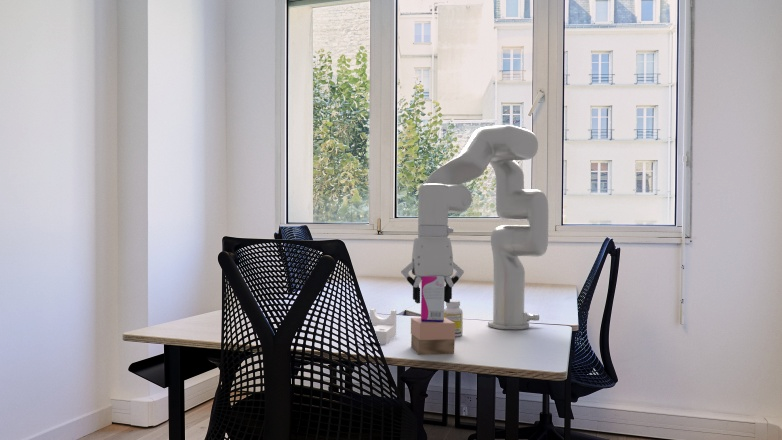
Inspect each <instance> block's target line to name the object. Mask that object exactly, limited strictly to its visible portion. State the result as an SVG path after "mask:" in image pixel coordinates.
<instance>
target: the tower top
mask: <svg viewBox="0 0 782 440" xmlns="http://www.w3.org/2000/svg"><path fill="white" fill-rule="evenodd" d="M411 334H412V335H414V336H415V337H416V338H418V339H419V340H443V339H455V340H456V336H455V323H454V322H452V321H450V320H448V319H447V318H445V317H444V322H421V317H411V318H410V335H411Z"/></svg>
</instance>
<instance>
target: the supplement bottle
mask: <svg viewBox="0 0 782 440" xmlns="http://www.w3.org/2000/svg"><path fill="white" fill-rule="evenodd" d="M445 306H446V307H444V317H445V318H447V319H448V320H450V321H452V322H454V323H455V337H460V336H463V328H464V326H463V322H464V321H463V315H464V314H463V308H461V300H458V299H450V303H447V302H445Z"/></svg>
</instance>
